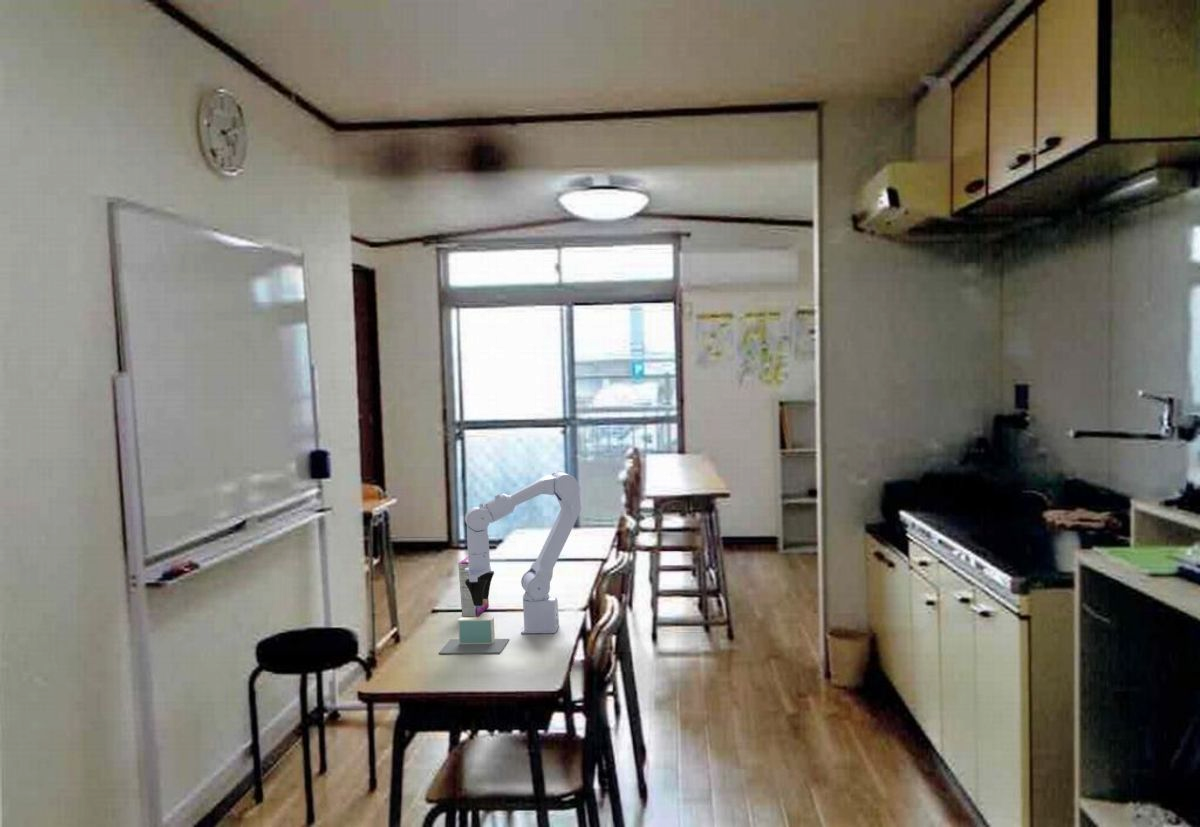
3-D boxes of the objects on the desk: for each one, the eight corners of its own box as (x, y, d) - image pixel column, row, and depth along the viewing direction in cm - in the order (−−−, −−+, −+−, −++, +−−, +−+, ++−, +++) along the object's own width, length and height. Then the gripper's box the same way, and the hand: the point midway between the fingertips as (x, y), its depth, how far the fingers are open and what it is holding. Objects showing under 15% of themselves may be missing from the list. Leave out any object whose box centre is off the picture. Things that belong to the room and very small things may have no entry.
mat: (509, 640, 234) (509, 638, 234) (500, 653, 223) (500, 652, 223) (450, 640, 236) (450, 639, 236) (438, 654, 225) (438, 652, 225)
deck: (494, 640, 232) (493, 617, 232) (492, 643, 230) (491, 619, 230) (461, 641, 233) (460, 617, 233) (459, 644, 231) (457, 620, 231)
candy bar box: (473, 607, 268) (470, 553, 267) (489, 607, 267) (486, 553, 266) (460, 617, 257) (457, 562, 256) (476, 617, 256) (474, 562, 255)
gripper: (470, 546, 245) (473, 595, 245) (456, 558, 230) (459, 609, 231) (495, 546, 244) (498, 594, 245) (483, 557, 229) (486, 609, 230)
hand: (481, 602), depth 238 cm, fingers open, 6 cm apart
